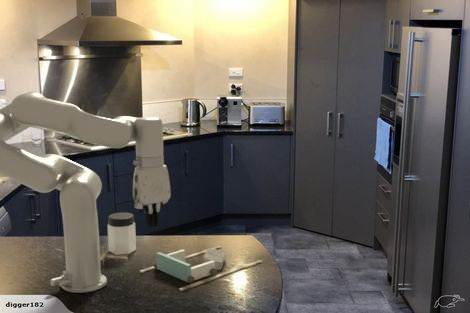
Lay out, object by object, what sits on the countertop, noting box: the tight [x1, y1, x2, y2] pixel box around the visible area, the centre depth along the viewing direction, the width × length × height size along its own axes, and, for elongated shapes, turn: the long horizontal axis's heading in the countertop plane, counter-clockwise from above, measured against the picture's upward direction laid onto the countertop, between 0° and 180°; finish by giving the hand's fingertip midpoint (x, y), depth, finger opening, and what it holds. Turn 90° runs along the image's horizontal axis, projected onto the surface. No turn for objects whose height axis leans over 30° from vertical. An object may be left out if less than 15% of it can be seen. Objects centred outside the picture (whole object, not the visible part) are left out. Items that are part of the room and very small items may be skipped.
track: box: [139, 245, 263, 292], centre depth 191 cm, size 32×20×1 cm, turn 133°
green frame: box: [153, 249, 218, 284], centre depth 186 cm, size 11×17×5 cm, turn 43°
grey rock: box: [203, 247, 226, 271], centre depth 193 cm, size 10×6×6 cm, turn 170°
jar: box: [107, 212, 137, 256], centre depth 205 cm, size 9×8×12 cm
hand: (152, 225), depth 176 cm, fingers closed
